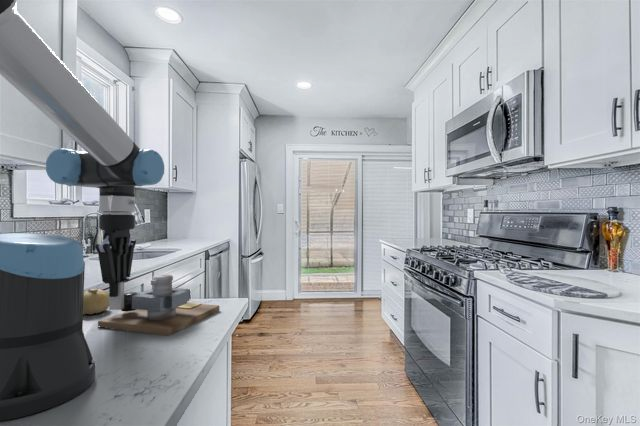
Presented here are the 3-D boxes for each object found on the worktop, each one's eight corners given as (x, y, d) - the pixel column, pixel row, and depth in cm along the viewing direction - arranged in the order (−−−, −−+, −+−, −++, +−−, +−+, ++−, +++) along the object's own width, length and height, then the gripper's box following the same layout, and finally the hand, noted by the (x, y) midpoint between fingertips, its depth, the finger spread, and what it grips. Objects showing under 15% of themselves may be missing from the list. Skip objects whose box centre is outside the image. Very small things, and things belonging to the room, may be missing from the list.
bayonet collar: (193, 308, 84) (193, 289, 84) (164, 320, 74) (164, 298, 74) (139, 303, 89) (139, 285, 89) (105, 314, 79) (105, 293, 79)
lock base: (168, 335, 72) (169, 283, 72) (97, 327, 77) (98, 278, 77) (219, 310, 91) (219, 269, 91) (159, 305, 96) (160, 266, 97)
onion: (67, 316, 86) (68, 289, 86) (95, 308, 94) (95, 283, 94) (92, 318, 84) (92, 291, 84) (117, 310, 92) (118, 285, 92)
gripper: (116, 213, 74) (115, 317, 74) (146, 214, 87) (145, 301, 87) (83, 213, 74) (82, 317, 74) (118, 213, 87) (117, 301, 87)
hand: (116, 308), depth 80 cm, fingers closed
